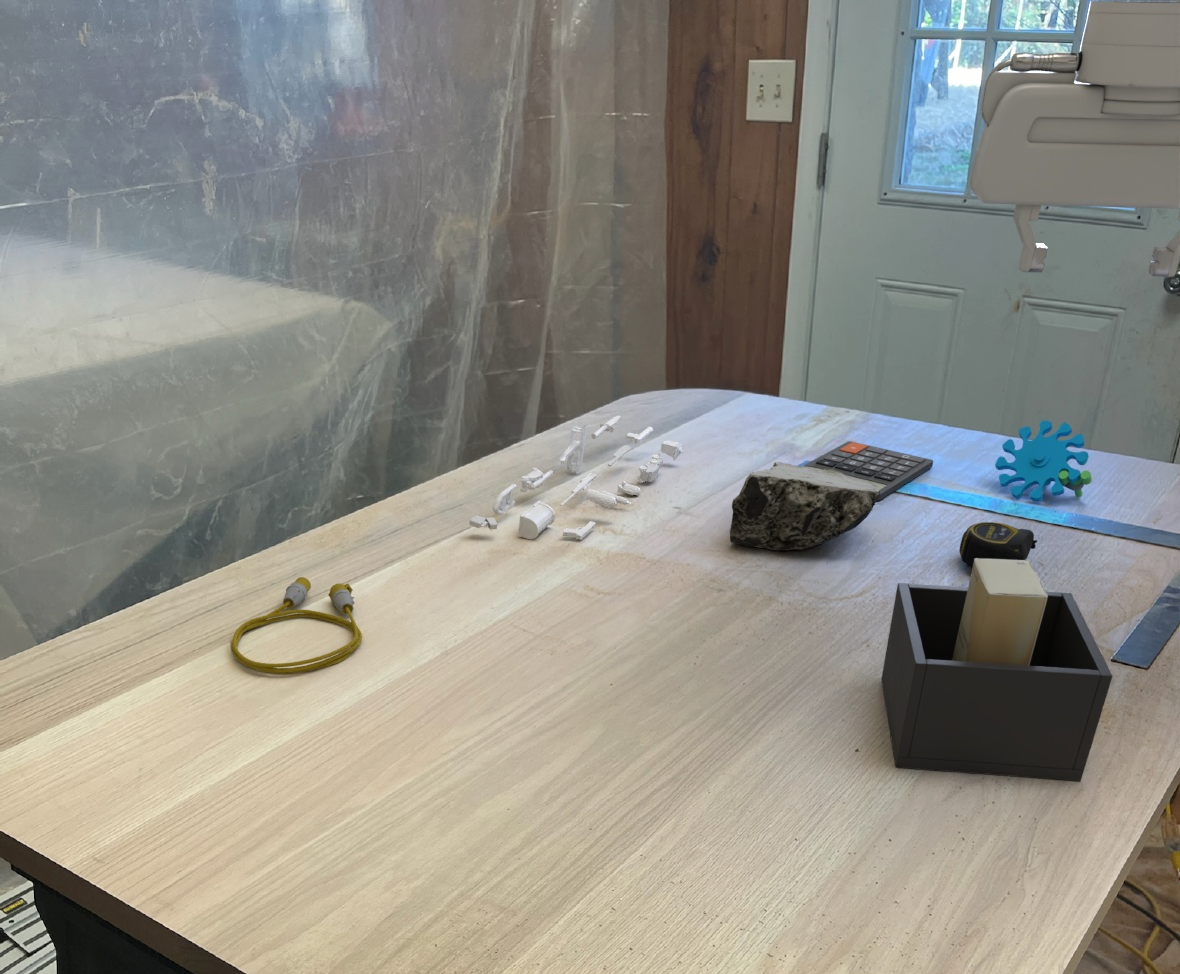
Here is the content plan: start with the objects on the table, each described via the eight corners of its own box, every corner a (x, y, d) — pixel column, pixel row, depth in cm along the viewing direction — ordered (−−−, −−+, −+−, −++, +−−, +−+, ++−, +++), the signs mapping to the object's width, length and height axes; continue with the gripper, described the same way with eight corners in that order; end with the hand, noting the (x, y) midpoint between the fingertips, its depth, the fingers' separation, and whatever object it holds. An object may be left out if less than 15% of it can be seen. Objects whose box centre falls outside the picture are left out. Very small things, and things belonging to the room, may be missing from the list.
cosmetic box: (942, 694, 94) (971, 554, 87) (996, 696, 94) (1030, 557, 87) (955, 736, 89) (987, 591, 82) (1012, 739, 89) (1050, 594, 82)
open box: (1045, 690, 97) (1071, 592, 92) (1080, 781, 86) (1113, 676, 81) (881, 679, 98) (897, 582, 93) (895, 767, 87) (915, 663, 82)
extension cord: (411, 614, 108) (409, 594, 107) (305, 689, 96) (302, 668, 95) (307, 588, 112) (304, 569, 111) (194, 657, 101) (189, 636, 100)
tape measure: (1018, 587, 114) (1026, 551, 111) (949, 572, 116) (956, 537, 114) (1032, 562, 118) (1040, 527, 116) (965, 548, 121) (972, 514, 119)
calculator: (934, 458, 141) (879, 493, 131) (933, 466, 141) (878, 501, 132) (849, 439, 147) (790, 471, 137) (848, 446, 147) (789, 478, 138)
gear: (976, 474, 135) (1030, 404, 134) (985, 498, 140) (1038, 431, 139) (1057, 513, 129) (1114, 441, 128) (1063, 537, 134) (1119, 467, 133)
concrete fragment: (743, 479, 131) (864, 415, 123) (780, 564, 132) (903, 506, 124) (696, 490, 118) (828, 419, 110) (738, 583, 119) (871, 519, 111)
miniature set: (606, 434, 148) (693, 463, 145) (467, 547, 123) (568, 584, 120) (613, 386, 144) (702, 414, 141) (470, 493, 119) (574, 530, 116)
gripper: (998, 54, 76) (958, 277, 84) (1322, 58, 74) (1250, 287, 82) (983, 49, 82) (947, 260, 89) (1286, 54, 79) (1222, 269, 87)
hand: (1095, 273), depth 86 cm, fingers open, 8 cm apart
